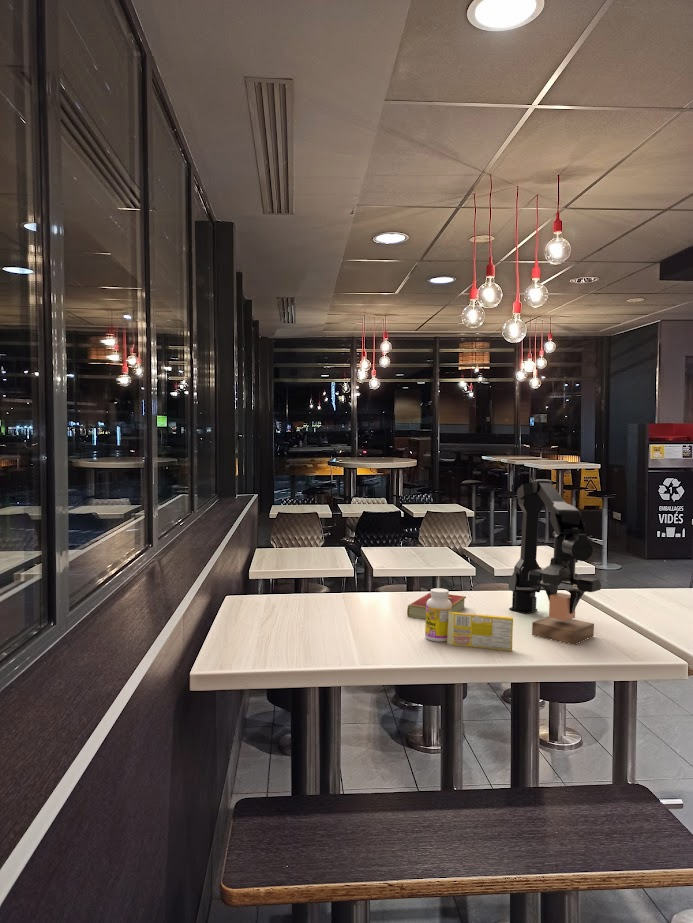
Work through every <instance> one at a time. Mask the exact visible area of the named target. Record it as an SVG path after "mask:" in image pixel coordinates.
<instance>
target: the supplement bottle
mask: <svg viewBox="0 0 693 923" xmlns="http://www.w3.org/2000/svg"><path fill="white" fill-rule="evenodd" d="M430 592H431V598H430V599H428V600H427V603H426V619H425V625H424V626H425V628H424V629H425V630H424V637H425V639H427V640H429V641H432V642H437V643H440V642H441V643H443V642H447V636H448V613H449V612H452V603H451V601H450V600H448V595H449V594H450V592H449V590H448V589H446V588H441V587H440V588H431V589H430Z"/></svg>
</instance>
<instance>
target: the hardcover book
mask: <svg viewBox="0 0 693 923" xmlns="http://www.w3.org/2000/svg"><path fill="white" fill-rule="evenodd" d="M430 598H431V591H430V592H429V593H427V594H425V595H423V596H421V597H420V598H418V599H417V600H414V601H413V602H411V603H409V604H408V605H407V610H406V614H407V617H408V618H409V617H412V618H418V619H424V620H426V603H427V600H428V599H430ZM466 598H467V596H463V595H459V594H450V593H449V595H448V600H450V601H451V603H452V612H458V613H460V612H461V611H462V610H463V609H464V608H465V599H466Z"/></svg>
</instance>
